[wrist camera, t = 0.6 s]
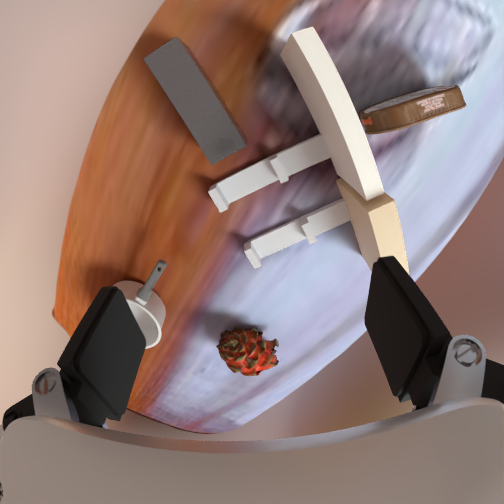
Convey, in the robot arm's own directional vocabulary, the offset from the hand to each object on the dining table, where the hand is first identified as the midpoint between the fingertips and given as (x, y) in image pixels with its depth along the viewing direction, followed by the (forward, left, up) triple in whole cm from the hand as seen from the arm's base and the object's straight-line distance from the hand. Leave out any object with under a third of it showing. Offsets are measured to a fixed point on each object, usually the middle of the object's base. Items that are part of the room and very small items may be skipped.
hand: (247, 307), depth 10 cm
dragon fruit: (+14, +26, -26) cm, 40 cm away
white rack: (-3, +5, -26) cm, 26 cm away
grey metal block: (+1, -10, -26) cm, 28 cm away
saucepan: (+24, +9, -26) cm, 36 cm away
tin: (-21, 0, -26) cm, 34 cm away
